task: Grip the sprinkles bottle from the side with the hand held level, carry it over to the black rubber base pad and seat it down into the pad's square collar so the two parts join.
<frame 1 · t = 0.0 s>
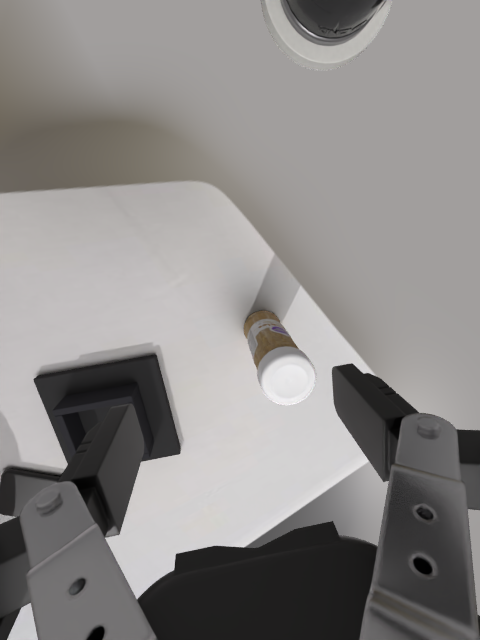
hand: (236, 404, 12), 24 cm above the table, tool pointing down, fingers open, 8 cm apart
sprinkles bottle: (261, 327, 36), on the table
smartphone: (62, 496, 41), on the table
base pad: (114, 414, 38), on the table
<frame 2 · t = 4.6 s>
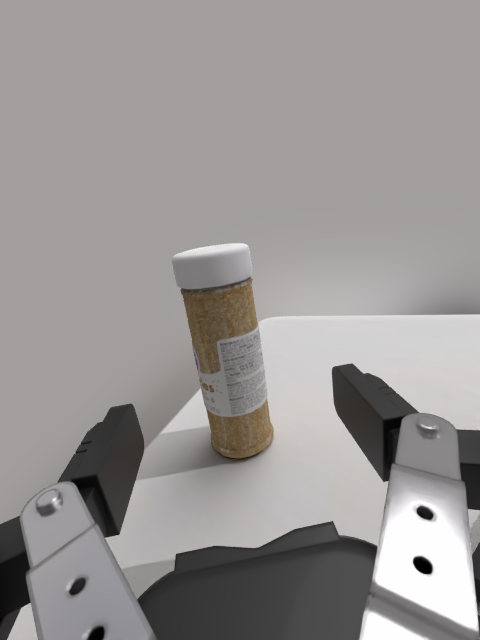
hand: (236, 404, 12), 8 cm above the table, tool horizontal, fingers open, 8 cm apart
sprinkles bottle: (243, 440, 21), on the table
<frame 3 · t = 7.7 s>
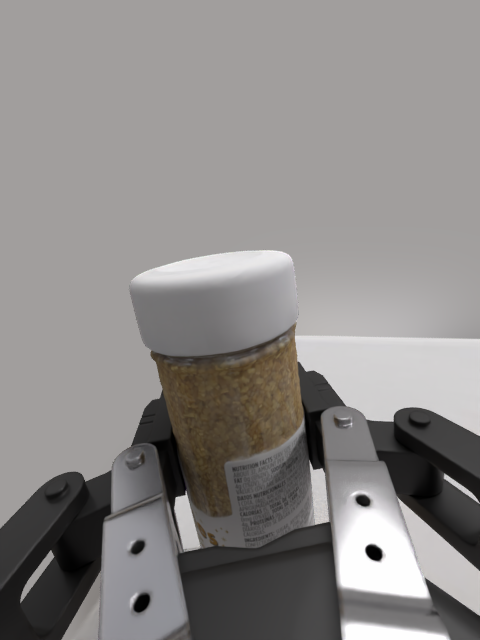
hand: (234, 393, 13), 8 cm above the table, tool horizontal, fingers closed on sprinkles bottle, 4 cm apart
sprinkles bottle: (268, 588, 12), on the table, touching gripper
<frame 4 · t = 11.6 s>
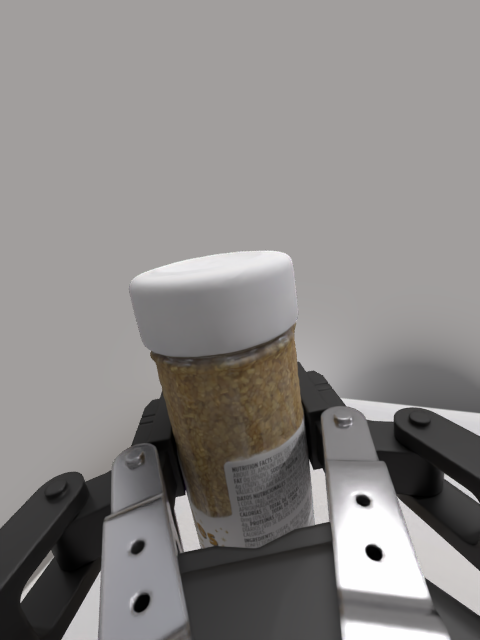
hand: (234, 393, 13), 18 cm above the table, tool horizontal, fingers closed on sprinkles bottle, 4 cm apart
sprinkles bottle: (268, 588, 12), point 10 cm above the table, touching gripper
when the fingers open (9 cm above the table, at t = 15.5 s): sprinkles bottle stays where it is, resting on base pad.
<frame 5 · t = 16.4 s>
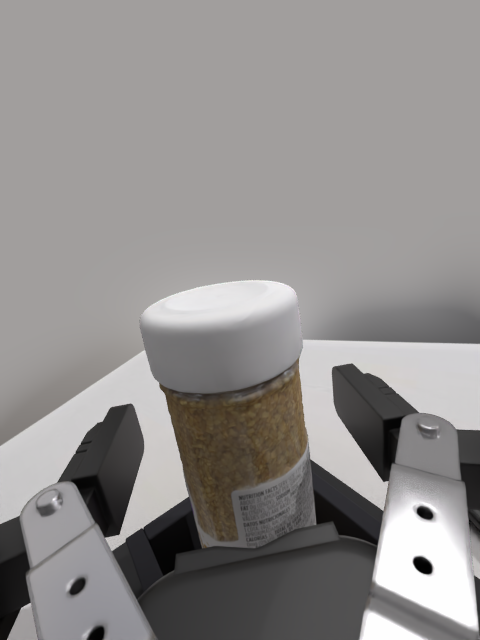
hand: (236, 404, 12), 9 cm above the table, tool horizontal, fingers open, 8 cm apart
sprinkles bottle: (272, 603, 13), point 1 cm above the table, touching base pad
base pad: (273, 612, 13), on the table
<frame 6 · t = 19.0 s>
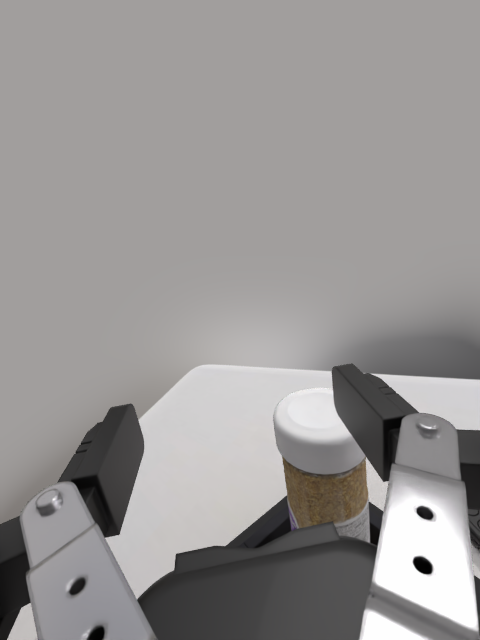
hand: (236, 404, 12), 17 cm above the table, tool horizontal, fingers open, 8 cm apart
sprinkles bottle: (335, 593, 19), point 1 cm above the table, touching base pad
base pad: (335, 599, 19), on the table
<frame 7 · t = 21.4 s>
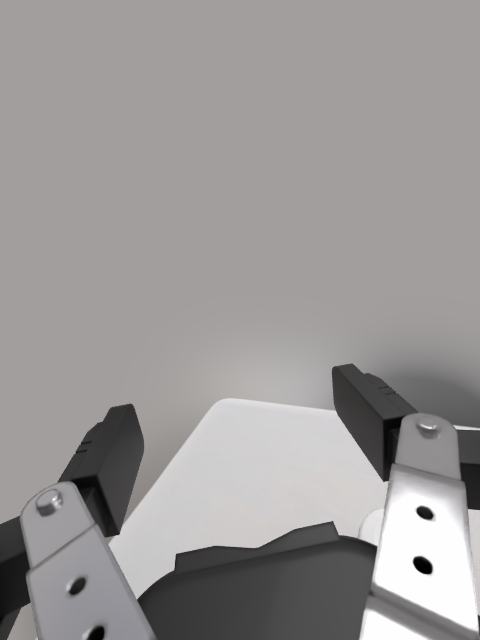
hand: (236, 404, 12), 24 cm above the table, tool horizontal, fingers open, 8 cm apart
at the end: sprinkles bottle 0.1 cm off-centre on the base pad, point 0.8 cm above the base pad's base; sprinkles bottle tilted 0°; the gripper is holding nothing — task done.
